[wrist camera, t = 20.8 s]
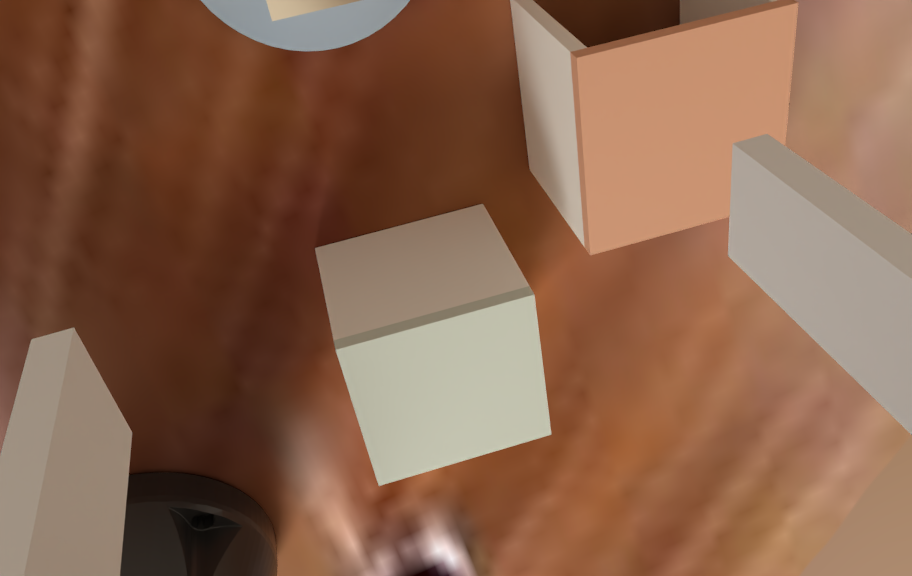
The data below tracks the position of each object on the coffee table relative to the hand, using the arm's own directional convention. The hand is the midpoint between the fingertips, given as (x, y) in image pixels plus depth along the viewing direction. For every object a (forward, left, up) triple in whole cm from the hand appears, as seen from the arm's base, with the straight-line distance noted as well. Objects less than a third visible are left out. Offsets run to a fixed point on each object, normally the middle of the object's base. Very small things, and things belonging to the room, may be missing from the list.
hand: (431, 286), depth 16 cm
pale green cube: (+1, -18, -24) cm, 30 cm away
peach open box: (+13, -7, -24) cm, 29 cm away
